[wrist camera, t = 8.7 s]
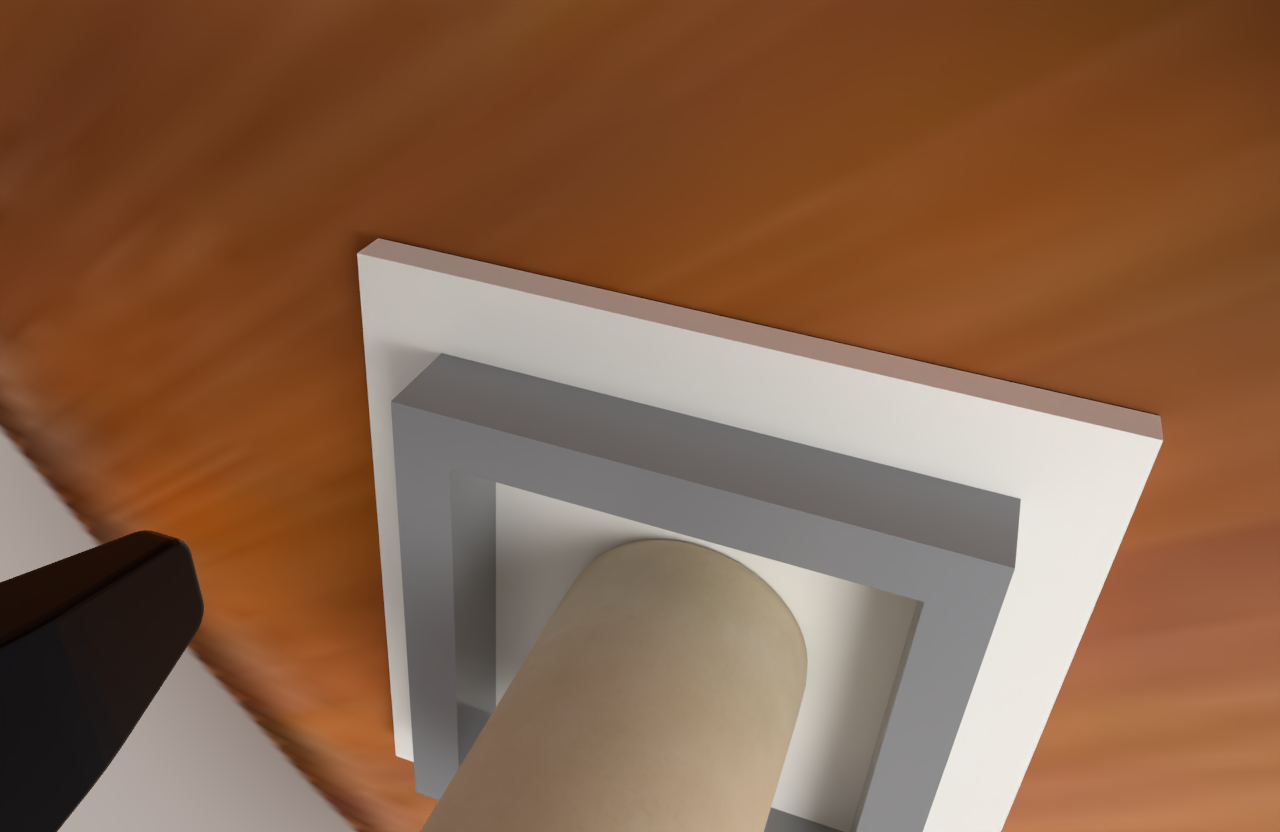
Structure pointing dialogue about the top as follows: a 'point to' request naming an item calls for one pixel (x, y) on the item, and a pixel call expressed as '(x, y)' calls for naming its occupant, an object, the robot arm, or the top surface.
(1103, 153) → the top surface
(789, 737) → the candle
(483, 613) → the candle tray
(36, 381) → the top surface
